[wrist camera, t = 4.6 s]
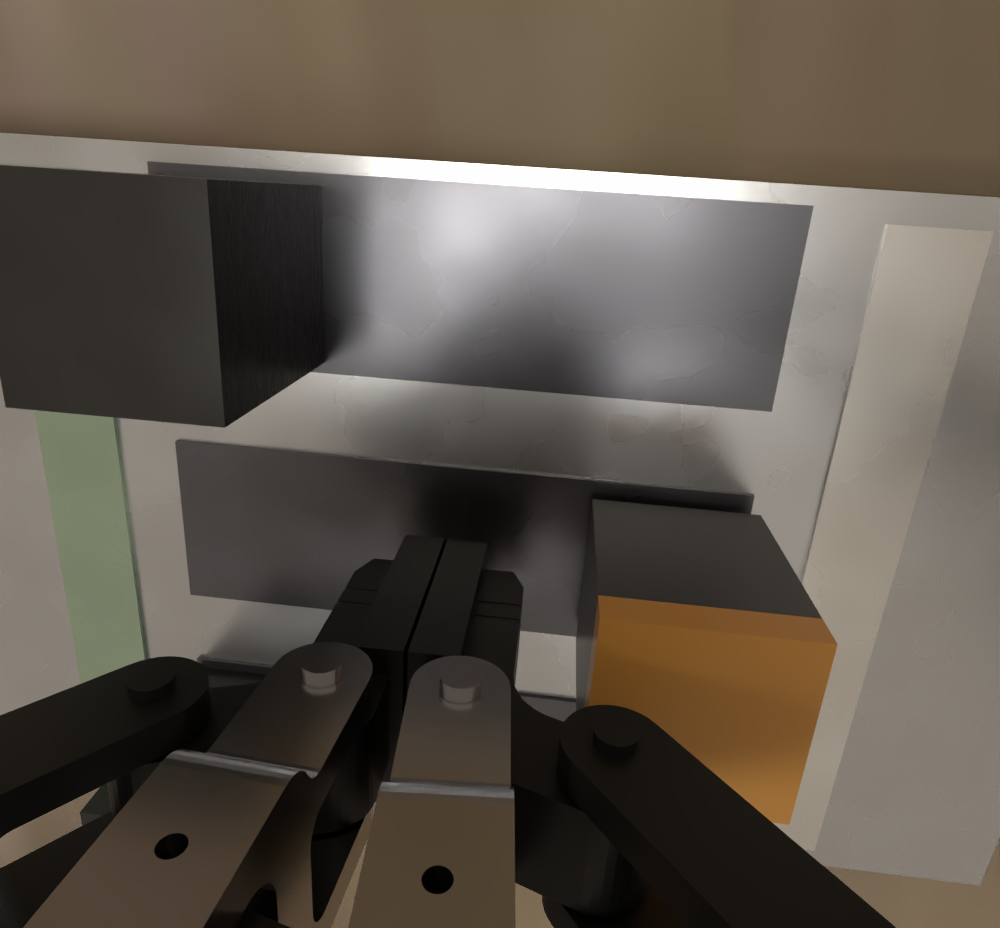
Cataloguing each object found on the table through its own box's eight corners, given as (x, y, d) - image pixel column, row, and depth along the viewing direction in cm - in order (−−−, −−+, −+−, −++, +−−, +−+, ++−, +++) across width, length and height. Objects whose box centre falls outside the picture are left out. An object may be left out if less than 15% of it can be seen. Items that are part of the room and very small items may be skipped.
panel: (1154, 211, 13) (1618, 221, 7) (936, 813, 18) (1109, 1104, 12) (-108, 129, 14) (-551, 83, 9) (13, 700, 19) (-222, 910, 14)
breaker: (761, 515, 13) (838, 644, 9) (731, 656, 14) (789, 824, 10) (592, 498, 13) (600, 618, 9) (575, 639, 14) (576, 798, 10)
